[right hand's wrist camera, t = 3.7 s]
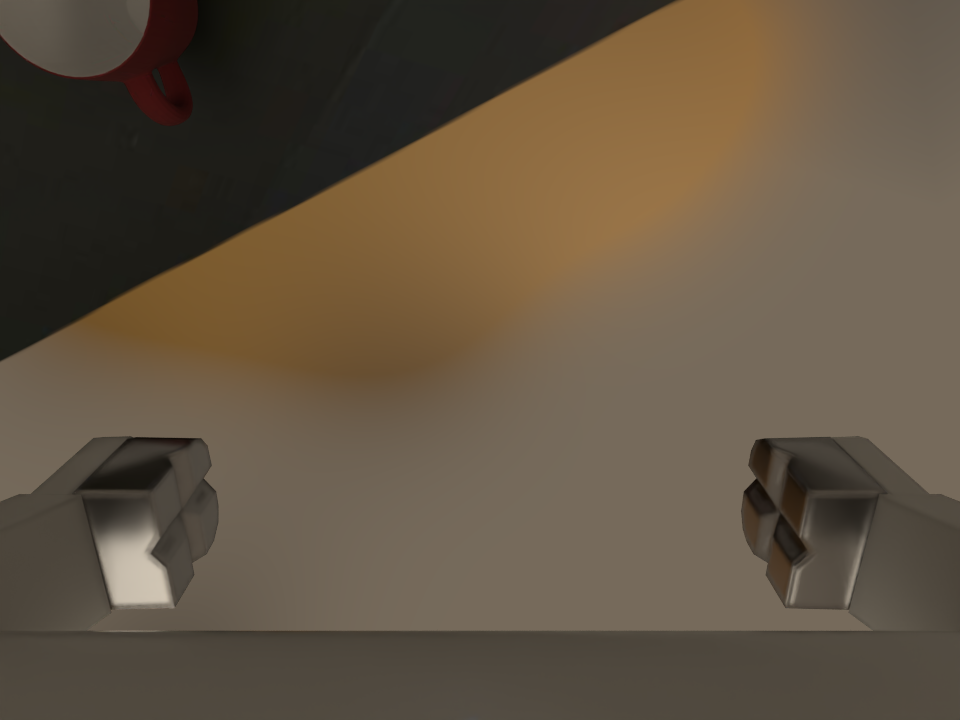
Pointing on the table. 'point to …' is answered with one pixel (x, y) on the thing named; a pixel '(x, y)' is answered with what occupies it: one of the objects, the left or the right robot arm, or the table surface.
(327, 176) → the table surface
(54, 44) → the mug
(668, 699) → the right robot arm
